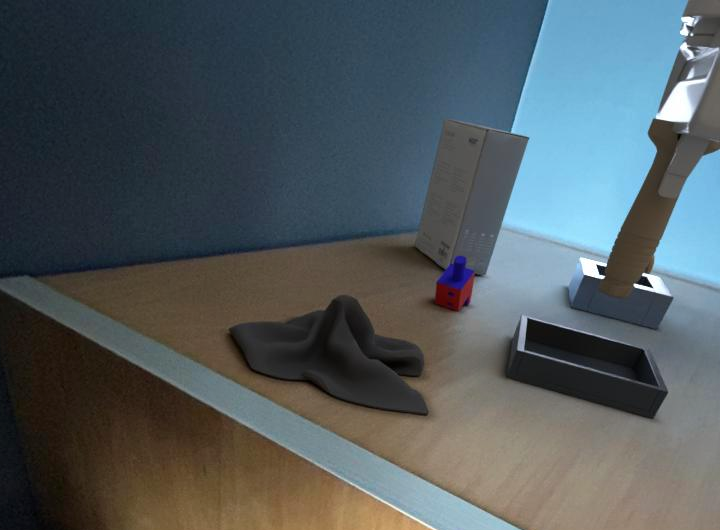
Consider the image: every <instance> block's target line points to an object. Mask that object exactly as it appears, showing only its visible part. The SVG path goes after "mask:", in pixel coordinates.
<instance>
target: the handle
mask: <svg viewBox="0 0 720 530" xmlns="http://www.w3.org/2000/svg"><path fill="white" fill-rule="evenodd" d="M673 125H674V122H672V121H667V120H661V119H656V117H655V118H654V117H653V118H652V120H651V123H650V125H649V128H648V130H647V136H648V138H649V140H650V141H651V142H652V144H653V145H654V147H655V148H656V153H655V156H654V158H653V161H652V164H651V166H650V168H649V170H648V172H647V174H646V176H645V178H644V181H643V182H642V185H641V186H640V189H639V190H638V193H637V194H636V197H635V199H634V201H633V203H632V205H631V207H630V208H629V210H628V213H627V215H626V217H625V219H624V221H623V223H622V225H621V227H620V231H618V233H617V234H616V238H615V240H614V242H613V245H612V247H611V252H609V256H608V259H607V261H606V264H607V265H606V268H605V272H604V273H605V274H606V275H605V277H604V279H602V280H601V283H600V286H599V291H600V292H602V293H605V294H607V295H608V296H610V297H617V298H620V299H626V298H627V297H628V296H629V295H630V294H631V292H632V291H633V289H634V287H635V286H634V283H635V282H638V280H639V279H640V278H641V276H642V275H643V273H644V271H645V270H646V267H647V266H648V265H649V261H651V259H652V257H653V254H654V255H655V253H656V251H657V248H658V247H659V245H660V243H661V240H662V238H663V236H664V234H665V231H666V228H667V227H668V224H669V221H670V219H671V217H672V214H673V212H674V209H675V206H676V204H677V202H678V200H679V197H680V195H681V193H682V191H681V192H680V194H679V196H678V197H676V198H674V199H671V198H667V197H662V196H660V195H659V194H658V193H657V187H658V185H659V183H660V180H661V178H662V176H663V174H664V172H666V170H667V168H668V166H669V164H670V162H671V160H672V157H673V155H674V153H675V151H676V150H675V148H676V146H677V144H678V142H679V139H680V137H681V135H682V134H677V133H674V132H673ZM719 150H720V142H719V141H712V140H710V142H709V144H708V146H707V148H706V150H705V152H704V154H703V156H702V157H704V156H707V155H710V154H713V153H715V152H717V151H719Z"/></svg>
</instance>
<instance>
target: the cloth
mask: <svg viewBox="0 0 720 530" xmlns="http://www.w3.org/2000/svg"><path fill="white" fill-rule="evenodd" d="M228 331H229V333H230V334H231V336H232V337H233V338H234V340H235V341H236V343H237V345H238V346H239V347H240V348H241V350H242V352H243V355H244V356H245V359H246V361H247V363H248V364H249V367H250V368H251V369H252V370H254V371H256V372H258V373H260V374H263V375H266V376H268V377H272V378H275V379H278V380H287V381H311V382H312V383H314V384H316V385H317V386H318V387H319V388H321V389H322V390H323V391H325V392H327V393H329V394H330V395H331V396H332V397H334V398H336V399H340V400H342V401H345V402H349V403H352V404H356V405H360V406H363V407H368V408H374V409H379V410H387V411H392V412H393V411H395V412H401V413H402V412H403V413H410V414H416V415H424V416H427V415H429V411H430V410H429V409H428V406H427V403H426V401H425V400H424V397H423V396H422V394H421V393H420V392H419V391H418V390H416V389H413V388H412V387H411V386H410V385H409V384H408V383H407V382H406V381H405V380H404V379H403V378H402V376H408V377H420V376H421V375H422V373H423V370H424V367H425V364H426V363H425V356H424V353H423V351H422V349H421V348H420V346H418V345H417V344H416V343H414V342H410V341H408V340H405V339H400V338H394V337H389V336H388V337H387V336H384V335H381V334H376V333H375V329H374V325H373V324H372V322H371V318H370V317H369V316H368V315H367V314H366V312H365V311H364V309H363V307H362V306H361V304H360V302H359V300H358V299H357V298H355V297H354V296H351V295H348V294H339V295H338V296H336V297H334V298H332V300H331V301H330V303H329V304H328V306H327V307H326V308H325V309H318V310H314V311H311V312H308V313H306V314H303V315H300V316H297V317H293V318H291V319H289V320H287V321H285V322H281V321H274V320H273V321H272V320H269V321H267V320H266V321H248V322H242V323H238V324H236V325H233V326H231V327H228Z"/></svg>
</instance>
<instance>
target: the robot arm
mask: <svg viewBox="0 0 720 530" xmlns="http://www.w3.org/2000/svg"><path fill="white" fill-rule="evenodd" d="M681 21H682V24H681V27H680V30H679V33H680V34H681V35H683V36H684V38H683V40H682V42H681V44H680V47H679V49H678V52H677V54H676V57H675V59H674V63H673V65H672V68H671V71H670V73H669V77H668V79H667V83H666V85H665V88H664V91H663V94H662V98H661V100H660V102H659V106H658V109H657V112H656V116H655V118H656V119H661V120H667V121H672V122H674V125H673V132H674V133H677V134H682V135H681V137H680V139H679V142H678V144H677V146H676V148H675V150H676V151H675V153H674V155H673V157H672V160H671V162H670V164H669V166H668V168H667V170H666V172H664V174H663V176H662V178H661V180H660V183H659V185H658V187H657V193H658V194H659V195H660V196H662V197H667V198H671V199H674V198H676V197H678V196H679V197H680V195H681V193H682V191H683V188H684V185H685V184H686V182H687V180H688V178H689V177H690V175H691V174H692V172H693V171H694V170H695V168H696V166H698V164H699V162H700V160H702V158H703V157H704V156H703V154H704V152H705V150H706V148H707V146H708V144H709V142H710V140H712V141H719V142H720V0H687V3H686V5H685V7H684V10H683V12H682V15H681ZM680 192H681V193H680ZM679 194H680V195H679ZM679 197H678V198H679Z"/></svg>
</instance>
